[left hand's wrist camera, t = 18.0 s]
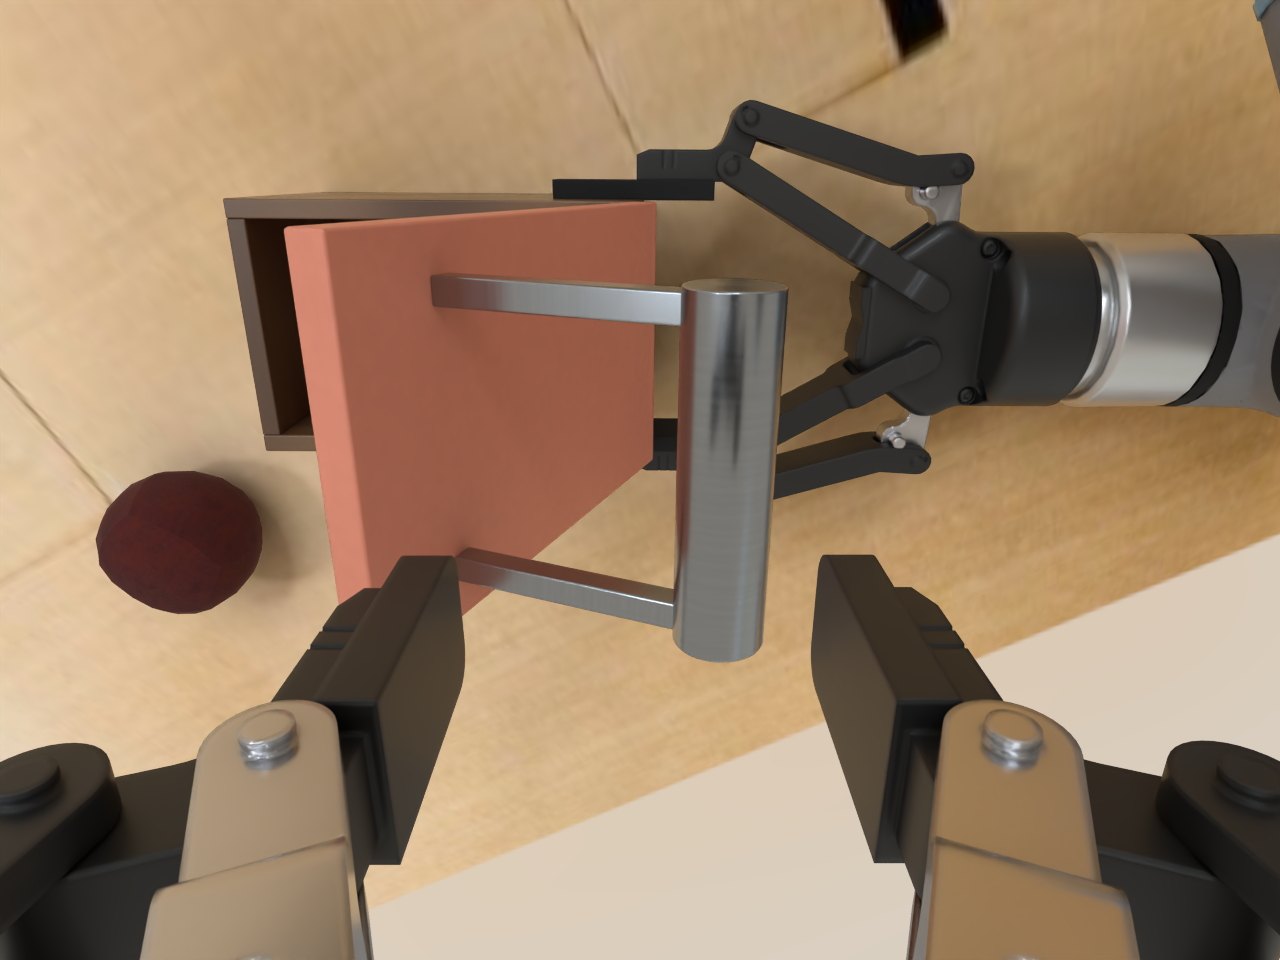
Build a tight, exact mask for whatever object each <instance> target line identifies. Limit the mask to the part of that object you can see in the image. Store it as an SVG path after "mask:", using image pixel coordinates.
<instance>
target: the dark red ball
mask: <svg viewBox="0 0 1280 960" xmlns="http://www.w3.org/2000/svg"><path fill="white" fill-rule="evenodd" d="M96 544H97V549H98V555H99V565H100V567H101V568H102V569H103V571H104V572H105V573H106V575H107V576H108V577H109V579H110V580H111V581H112V582H113V583H114V584H115V585H117V586H118V587H119V588H121V589H122V590H123V591H125V592H126V593H127V594H129V595H130V596H131V597H133V598H135V599H136V600H138V601H140V602H142V603H144V604H146V605H148V606H150V607H152V608H155V609H158V610H162V611H166V612H171V613H176V614H194V613H199V612H202V611H206V610H209V609H212V608H213V607H215V606H217V605H218V604H220V603H221V602H223V601H225V600H226V599H228V598H229V597H231V596H232V595H234V594H235V593H237V592H238V590H239V589H240V588H241V587H242V586H243V584H244V583H245V582H246V581H247V579H248V578H249V577H250V576H251V574H252V573H253V572H254V570H255V568H256V565H257V563H258V560H259V556H260V553H261V549H262V527H261V523H260V518H259V515H258V513H257V511H256V509H255V506H254V504H253V503H252V501H251V500H250V499H249V498H248V497H247V495H246V494H245V493H244V492H243V491H242V490H240V489H238V488H237V487H235V486H233V485H232V484H230V483H229V482H227V481H225V480H224V479H222V478H219V477H215V476H211V475H207V474H203V473H199V472H196V471H177V472H162V473H157V474H154V475H152V476H149V477H147V478H145V479H143V480H140V481H138V482H136V483H134V484H131V485H130V486H129V487H128V488H127V489H126V490H125V491H124V492H122V493H121V494H120V496H119V497H118V498H117V499H116V500H115V501H114V502H113V503H112V504H111V505H110V506H109V507H108V508H107V510H106V513H105V515H104V517H103V519H102V521H101V524H100V527H99V530H98V533H97V537H96Z"/></svg>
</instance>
